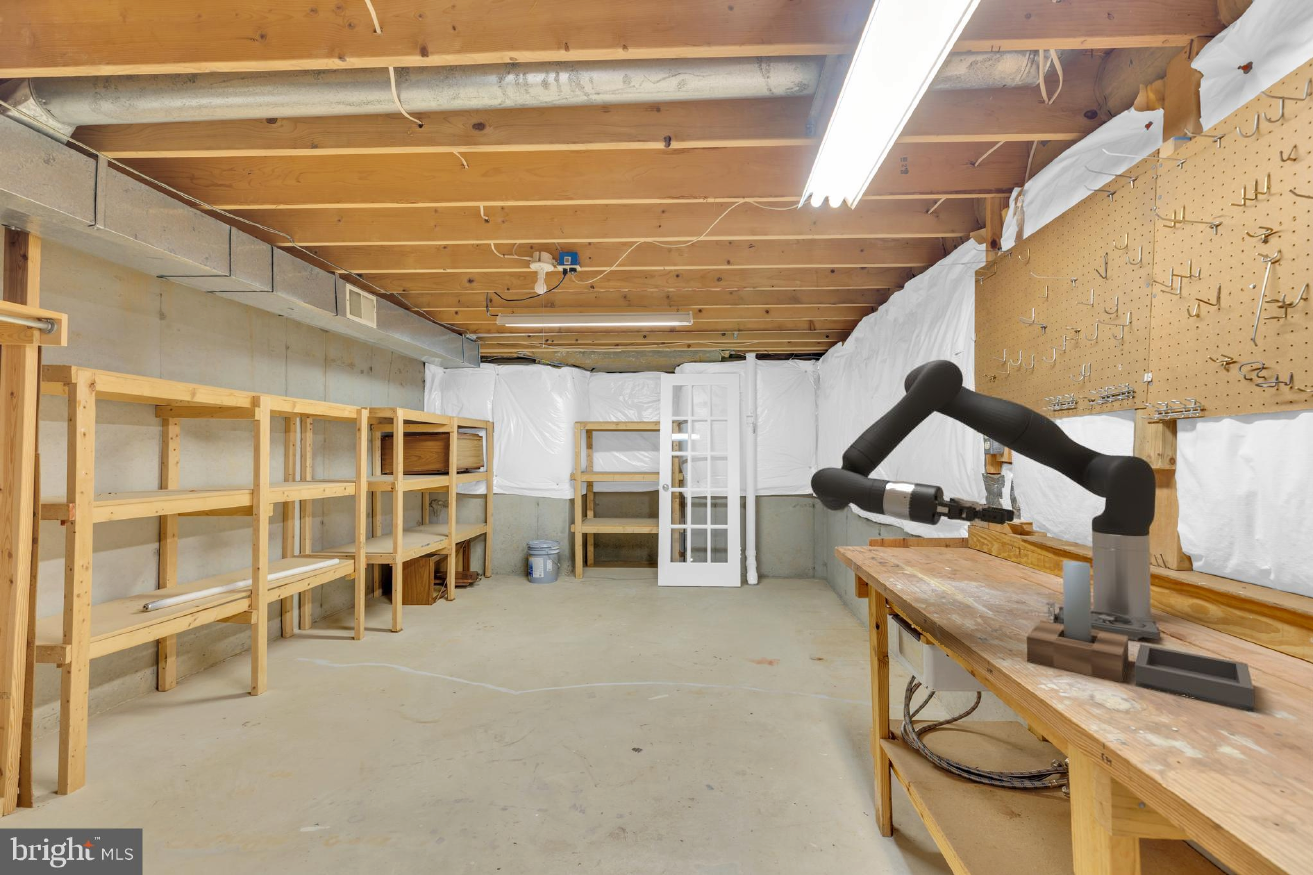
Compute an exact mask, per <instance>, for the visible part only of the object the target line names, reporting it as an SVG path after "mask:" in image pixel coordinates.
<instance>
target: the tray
mask: <svg viewBox="0 0 1313 875" xmlns="http://www.w3.org/2000/svg"><path fill="white" fill-rule="evenodd" d="M1134 677H1135V678H1134V685H1135V686H1137V687H1140V686H1142V687H1141V688H1146V689H1149V688H1151V689H1150V690H1154V689H1155V691H1158V690H1160V691H1159V692H1163V693H1167V692H1169V694H1172V695H1176V694H1178V695H1177V696H1181V695H1185V696H1188V697H1187V698H1190V697H1194V698H1196V699H1195V700H1198V699H1200V701H1204V702H1208V703H1213V704H1217V705H1221V706H1226V707H1231V708H1235V709H1240V710H1244V711H1248V712H1254V713H1255V696H1254V695H1255V694H1254V693H1255V692H1254V685H1253V682H1252V677H1251V673H1250V670H1249V665H1248V663H1246V662H1240V661H1235V660H1229V659H1225V658H1219V657H1218V658H1217V657H1214V656H1213V657H1212V656H1208V655H1207V656H1206V655H1202V654H1196V653H1191V652H1186V651H1181V650H1175V649H1169V648H1163V647H1158V646H1154V645H1148V644H1142V643H1140V644H1139V648H1138V651H1137V656H1136V659H1135V663H1134ZM1185 696H1184V697H1185ZM1194 698H1193V699H1194Z"/></svg>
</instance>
